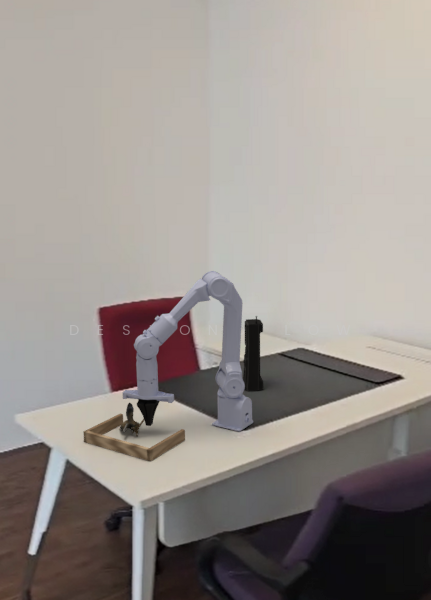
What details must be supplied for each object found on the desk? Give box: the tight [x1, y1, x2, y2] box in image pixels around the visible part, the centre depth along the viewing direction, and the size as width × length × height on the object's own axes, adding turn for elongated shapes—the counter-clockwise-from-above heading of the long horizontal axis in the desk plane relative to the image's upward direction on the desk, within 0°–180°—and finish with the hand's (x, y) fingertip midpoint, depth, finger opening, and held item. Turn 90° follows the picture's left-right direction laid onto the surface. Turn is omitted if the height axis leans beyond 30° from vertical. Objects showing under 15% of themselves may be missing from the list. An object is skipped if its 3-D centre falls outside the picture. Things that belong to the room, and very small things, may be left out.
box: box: [83, 413, 186, 462], centre depth 178 cm, size 23×15×3 cm, turn 57°
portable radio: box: [242, 315, 264, 392], centre depth 217 cm, size 8×6×25 cm
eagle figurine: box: [119, 402, 145, 437], centre depth 183 cm, size 8×7×9 cm
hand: (149, 424), depth 183 cm, fingers closed
